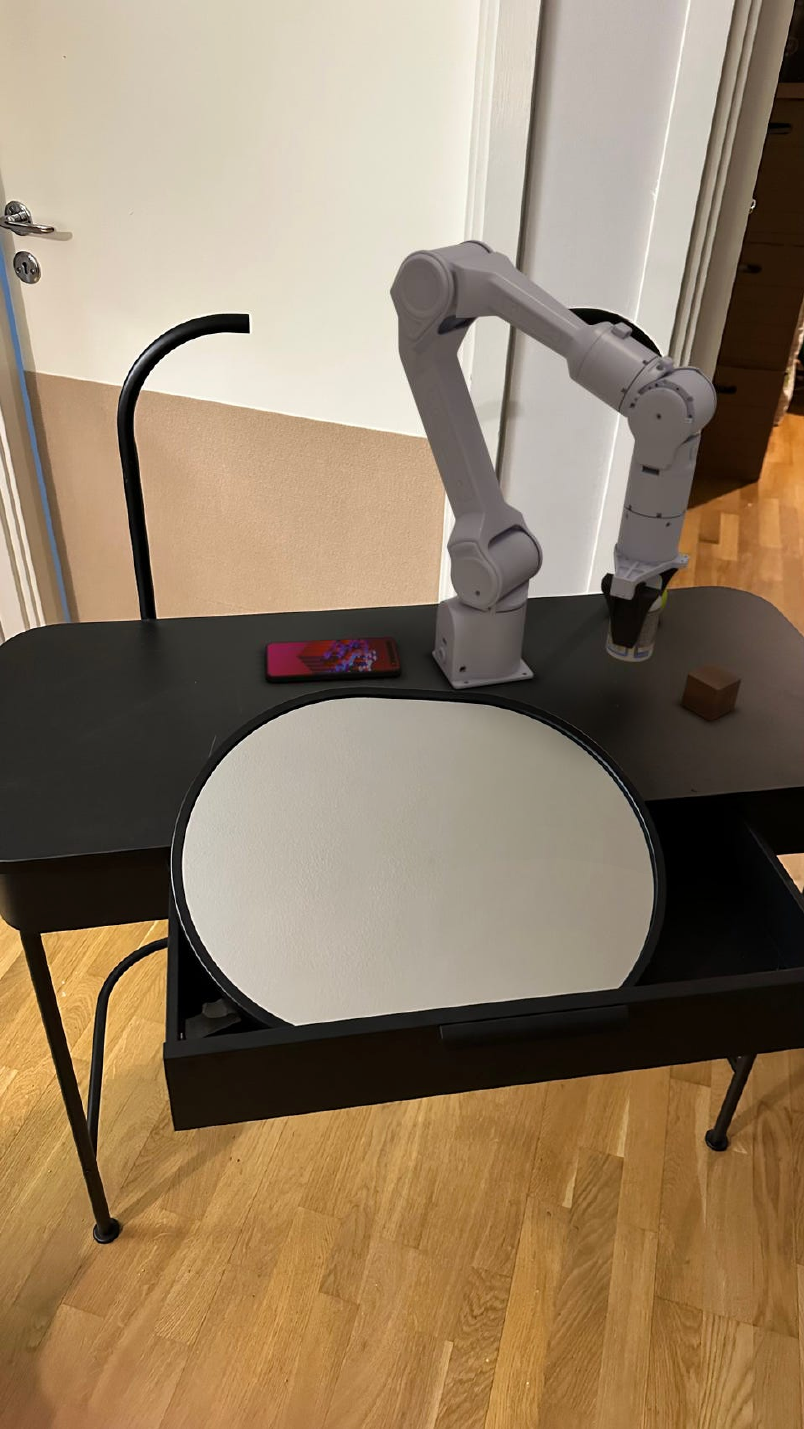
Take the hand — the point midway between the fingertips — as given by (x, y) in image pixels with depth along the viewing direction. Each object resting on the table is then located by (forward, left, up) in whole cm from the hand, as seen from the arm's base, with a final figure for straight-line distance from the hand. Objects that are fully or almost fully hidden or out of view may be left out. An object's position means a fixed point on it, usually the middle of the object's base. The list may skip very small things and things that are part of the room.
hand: (631, 634), depth 99 cm
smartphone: (-27, +18, -10) cm, 34 cm away
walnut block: (+10, -1, -10) cm, 14 cm away
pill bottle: (0, 0, -2) cm, 2 cm away
